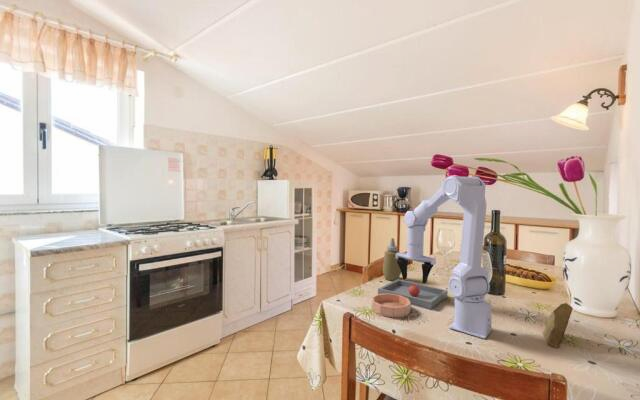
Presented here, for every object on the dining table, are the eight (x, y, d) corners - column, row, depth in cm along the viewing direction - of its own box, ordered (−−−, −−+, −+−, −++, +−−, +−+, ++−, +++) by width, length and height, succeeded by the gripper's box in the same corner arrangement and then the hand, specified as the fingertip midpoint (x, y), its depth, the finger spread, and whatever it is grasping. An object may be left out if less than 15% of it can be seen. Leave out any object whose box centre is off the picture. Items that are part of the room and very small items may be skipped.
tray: (447, 297, 113) (447, 290, 113) (430, 309, 101) (431, 302, 101) (397, 285, 127) (397, 279, 126) (377, 295, 115) (378, 288, 114)
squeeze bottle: (403, 281, 131) (404, 240, 130) (384, 281, 131) (385, 240, 130) (398, 276, 139) (399, 237, 138) (380, 276, 139) (381, 236, 138)
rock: (569, 346, 74) (592, 333, 78) (545, 311, 78) (568, 301, 82) (533, 353, 83) (556, 341, 87) (514, 322, 87) (536, 311, 91)
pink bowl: (416, 308, 102) (416, 299, 102) (398, 321, 92) (398, 310, 92) (383, 299, 110) (383, 290, 110) (364, 310, 100) (364, 300, 100)
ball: (421, 295, 113) (421, 285, 113) (416, 298, 110) (417, 287, 110) (411, 293, 115) (411, 282, 115) (406, 295, 112) (406, 285, 112)
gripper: (439, 244, 110) (438, 282, 110) (401, 240, 119) (401, 274, 120) (431, 247, 105) (430, 286, 105) (393, 242, 114) (392, 278, 115)
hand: (414, 280), depth 112 cm, fingers open, 7 cm apart
